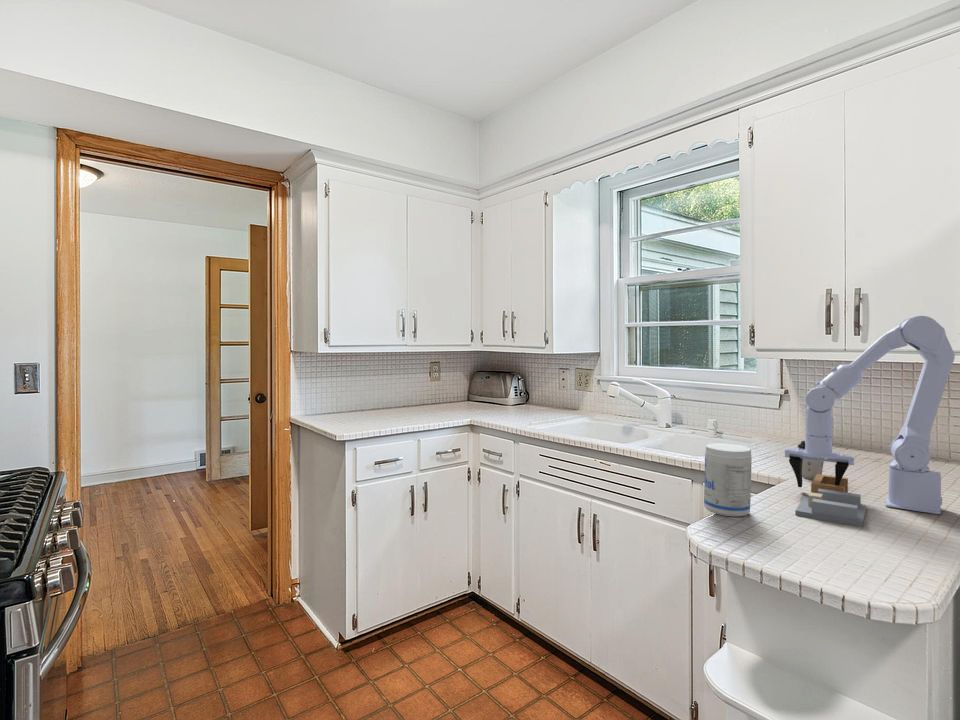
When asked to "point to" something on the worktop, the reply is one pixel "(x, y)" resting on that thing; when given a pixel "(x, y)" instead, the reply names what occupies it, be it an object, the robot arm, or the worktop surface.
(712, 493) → the supplement tub
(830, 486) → the tan c-shaped bracket
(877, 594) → the worktop surface
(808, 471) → the coffee cup
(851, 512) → the display stand
